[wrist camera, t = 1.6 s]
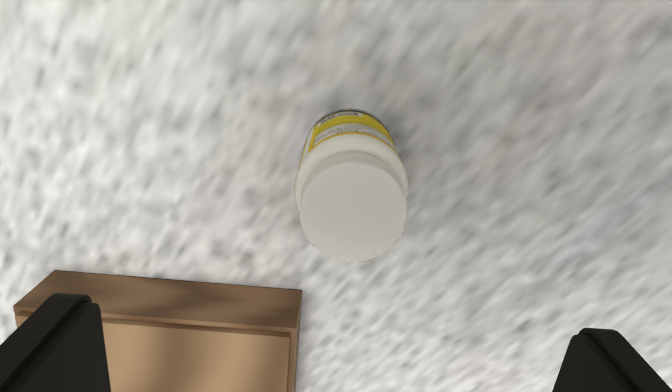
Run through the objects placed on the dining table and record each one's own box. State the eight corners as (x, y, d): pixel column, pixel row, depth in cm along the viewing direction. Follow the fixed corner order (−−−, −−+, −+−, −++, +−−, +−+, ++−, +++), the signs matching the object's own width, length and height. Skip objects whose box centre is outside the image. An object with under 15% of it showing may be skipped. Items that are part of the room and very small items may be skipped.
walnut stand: (301, 290, 27) (295, 333, 23) (291, 443, 32) (284, 499, 28) (54, 270, 27) (7, 310, 23) (81, 427, 32) (46, 482, 28)
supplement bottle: (358, 208, 25) (366, 293, 17) (288, 162, 24) (262, 231, 16) (411, 139, 24) (445, 199, 16) (337, 88, 23) (336, 125, 15)
